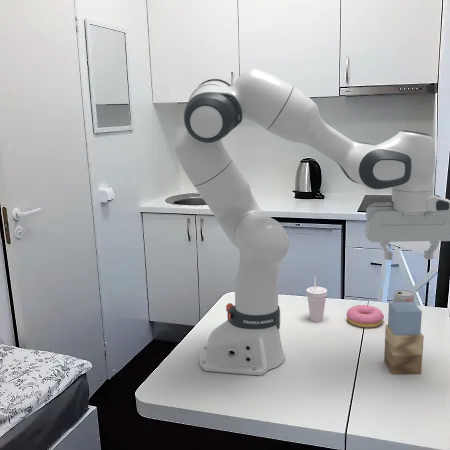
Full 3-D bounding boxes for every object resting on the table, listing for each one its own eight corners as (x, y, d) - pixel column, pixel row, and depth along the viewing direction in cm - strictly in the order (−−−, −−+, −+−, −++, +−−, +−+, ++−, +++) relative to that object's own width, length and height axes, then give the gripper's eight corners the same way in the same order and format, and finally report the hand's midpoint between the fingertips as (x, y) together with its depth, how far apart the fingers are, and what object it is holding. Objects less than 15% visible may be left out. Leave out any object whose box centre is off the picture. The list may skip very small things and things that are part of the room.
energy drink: (396, 326, 152) (398, 288, 149) (414, 331, 149) (417, 292, 146) (389, 333, 148) (391, 293, 145) (407, 338, 145) (410, 297, 142)
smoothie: (309, 314, 163) (309, 272, 160) (329, 317, 160) (330, 274, 157) (303, 322, 157) (303, 278, 154) (323, 325, 155) (324, 280, 151)
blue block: (395, 335, 124) (396, 312, 123) (387, 325, 130) (388, 302, 129) (420, 334, 124) (421, 311, 123) (411, 324, 130) (413, 302, 128)
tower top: (393, 355, 125) (394, 336, 123) (384, 342, 131) (385, 324, 130) (422, 355, 124) (423, 335, 123) (412, 342, 131) (413, 323, 130)
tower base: (392, 374, 126) (393, 355, 125) (384, 360, 132) (384, 342, 131) (421, 374, 125) (422, 355, 124) (411, 360, 132) (412, 342, 131)
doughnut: (347, 313, 163) (347, 301, 162) (383, 316, 160) (384, 303, 159) (345, 327, 153) (345, 314, 152) (384, 331, 150) (384, 317, 149)
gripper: (369, 204, 117) (367, 263, 120) (461, 203, 116) (456, 262, 119) (363, 199, 123) (361, 255, 126) (450, 198, 122) (445, 254, 125)
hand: (408, 258), depth 123 cm, fingers open, 8 cm apart
